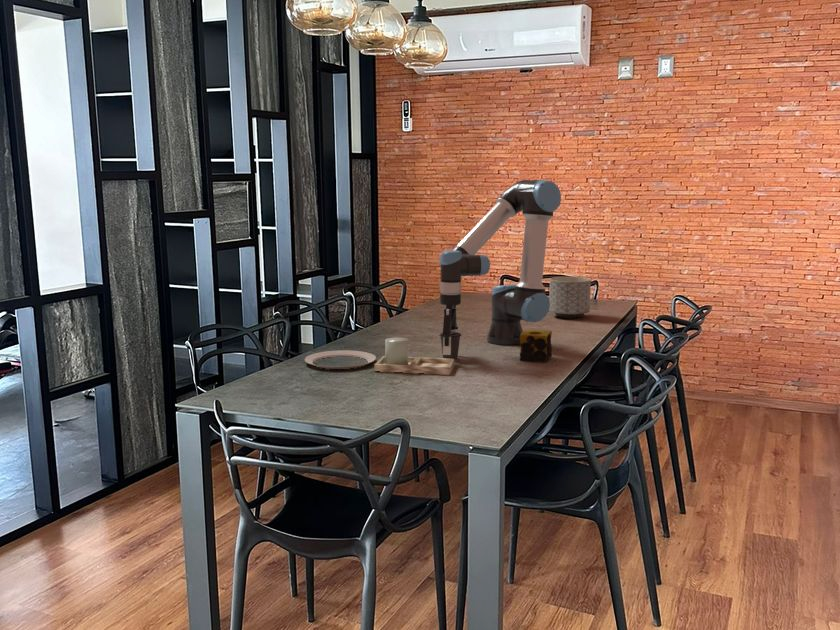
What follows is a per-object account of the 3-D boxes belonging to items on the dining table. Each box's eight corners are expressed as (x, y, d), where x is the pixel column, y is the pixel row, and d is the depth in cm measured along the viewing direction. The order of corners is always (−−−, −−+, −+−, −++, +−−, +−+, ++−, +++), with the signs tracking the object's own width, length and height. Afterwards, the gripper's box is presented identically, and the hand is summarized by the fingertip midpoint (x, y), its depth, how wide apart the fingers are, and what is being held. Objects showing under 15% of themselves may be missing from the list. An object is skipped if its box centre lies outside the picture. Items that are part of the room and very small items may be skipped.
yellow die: (552, 357, 288) (552, 330, 287) (547, 363, 279) (548, 335, 277) (524, 355, 292) (525, 329, 290) (519, 361, 282) (519, 334, 280)
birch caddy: (454, 365, 275) (454, 358, 275) (449, 374, 262) (449, 367, 262) (382, 362, 279) (382, 356, 279) (374, 371, 267) (374, 364, 266)
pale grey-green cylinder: (410, 362, 275) (410, 338, 274) (405, 368, 267) (405, 342, 266) (388, 362, 276) (387, 337, 275) (383, 367, 269) (382, 341, 267)
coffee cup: (454, 362, 280) (454, 335, 278) (435, 359, 284) (435, 332, 283) (465, 357, 287) (465, 331, 285) (446, 355, 291) (446, 329, 289)
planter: (595, 315, 373) (596, 278, 370) (580, 321, 357) (582, 282, 354) (558, 312, 383) (559, 275, 380) (542, 318, 367) (543, 279, 364)
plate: (296, 359, 286) (296, 354, 286) (362, 353, 296) (362, 347, 296) (315, 375, 263) (315, 369, 263) (386, 367, 273) (386, 362, 273)
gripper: (445, 288, 294) (444, 343, 298) (434, 297, 270) (434, 357, 274) (464, 289, 293) (463, 344, 296) (456, 298, 269) (455, 358, 272)
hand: (449, 350), depth 285 cm, fingers open, 13 cm apart
